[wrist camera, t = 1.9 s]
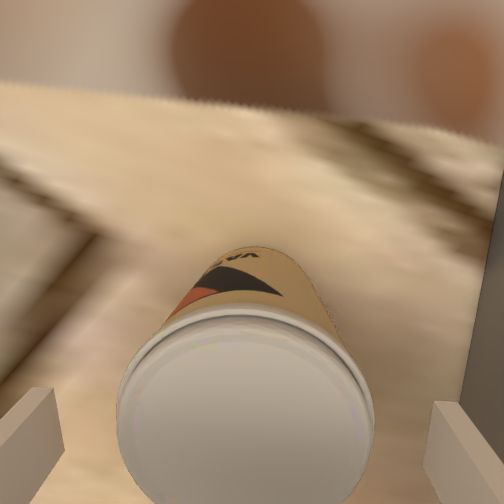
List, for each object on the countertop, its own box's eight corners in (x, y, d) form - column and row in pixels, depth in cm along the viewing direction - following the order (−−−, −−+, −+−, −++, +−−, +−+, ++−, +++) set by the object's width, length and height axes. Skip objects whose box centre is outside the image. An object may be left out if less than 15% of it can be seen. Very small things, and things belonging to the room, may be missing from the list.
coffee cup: (258, 202, 22) (245, 257, 10) (355, 306, 23) (439, 455, 12) (157, 297, 24) (52, 432, 12) (253, 387, 25) (238, 581, 14)
